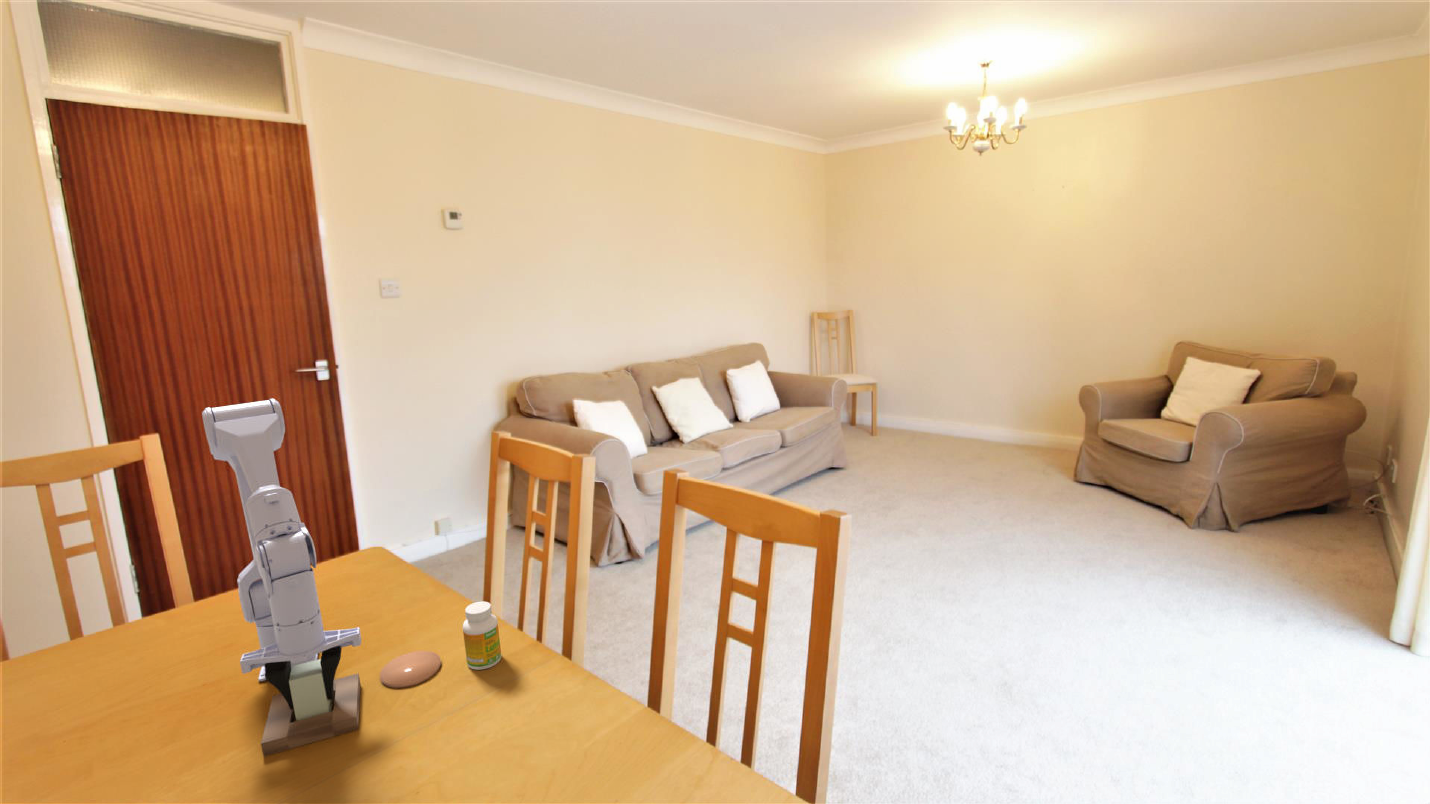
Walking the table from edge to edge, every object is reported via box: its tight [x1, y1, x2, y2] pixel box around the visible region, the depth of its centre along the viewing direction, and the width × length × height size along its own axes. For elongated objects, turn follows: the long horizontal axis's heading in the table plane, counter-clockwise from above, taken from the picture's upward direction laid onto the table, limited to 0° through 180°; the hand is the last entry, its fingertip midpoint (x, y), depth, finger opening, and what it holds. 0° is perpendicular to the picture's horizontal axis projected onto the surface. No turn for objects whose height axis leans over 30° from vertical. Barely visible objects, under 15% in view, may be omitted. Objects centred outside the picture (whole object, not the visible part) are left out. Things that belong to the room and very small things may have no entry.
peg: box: [289, 658, 333, 721], centre depth 98 cm, size 4×4×8 cm
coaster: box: [379, 650, 442, 689], centre depth 109 cm, size 9×9×1 cm
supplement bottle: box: [462, 600, 502, 671], centre depth 110 cm, size 5×5×10 cm
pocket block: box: [260, 673, 362, 757], centre depth 98 cm, size 11×11×2 cm
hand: (312, 700), depth 98 cm, fingers closed on peg, 4 cm apart
